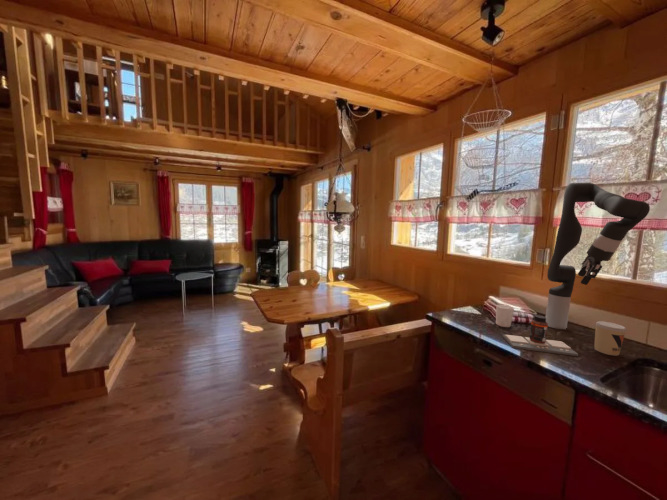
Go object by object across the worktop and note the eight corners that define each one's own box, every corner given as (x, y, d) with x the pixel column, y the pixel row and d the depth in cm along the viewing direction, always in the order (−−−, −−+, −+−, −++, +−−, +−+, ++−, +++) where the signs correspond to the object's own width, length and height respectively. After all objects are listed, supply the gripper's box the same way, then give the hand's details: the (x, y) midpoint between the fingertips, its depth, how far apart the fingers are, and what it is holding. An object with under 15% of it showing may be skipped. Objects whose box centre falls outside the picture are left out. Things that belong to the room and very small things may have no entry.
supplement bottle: (548, 344, 121) (551, 319, 120) (533, 342, 122) (536, 318, 121) (541, 339, 127) (544, 315, 125) (526, 337, 128) (529, 313, 127)
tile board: (502, 336, 132) (503, 333, 131) (561, 344, 126) (561, 340, 126) (512, 347, 120) (513, 344, 120) (577, 356, 115) (578, 352, 114)
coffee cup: (615, 358, 115) (619, 330, 113) (587, 348, 123) (591, 322, 122) (626, 354, 118) (630, 327, 117) (598, 345, 127) (602, 319, 126)
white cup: (495, 321, 153) (497, 303, 152) (512, 324, 149) (514, 306, 148) (493, 325, 147) (495, 306, 146) (511, 329, 142) (513, 310, 141)
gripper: (589, 238, 121) (569, 270, 128) (595, 249, 110) (573, 283, 117) (611, 244, 117) (589, 276, 125) (620, 256, 106) (595, 290, 114)
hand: (581, 279), depth 121 cm, fingers open, 8 cm apart
